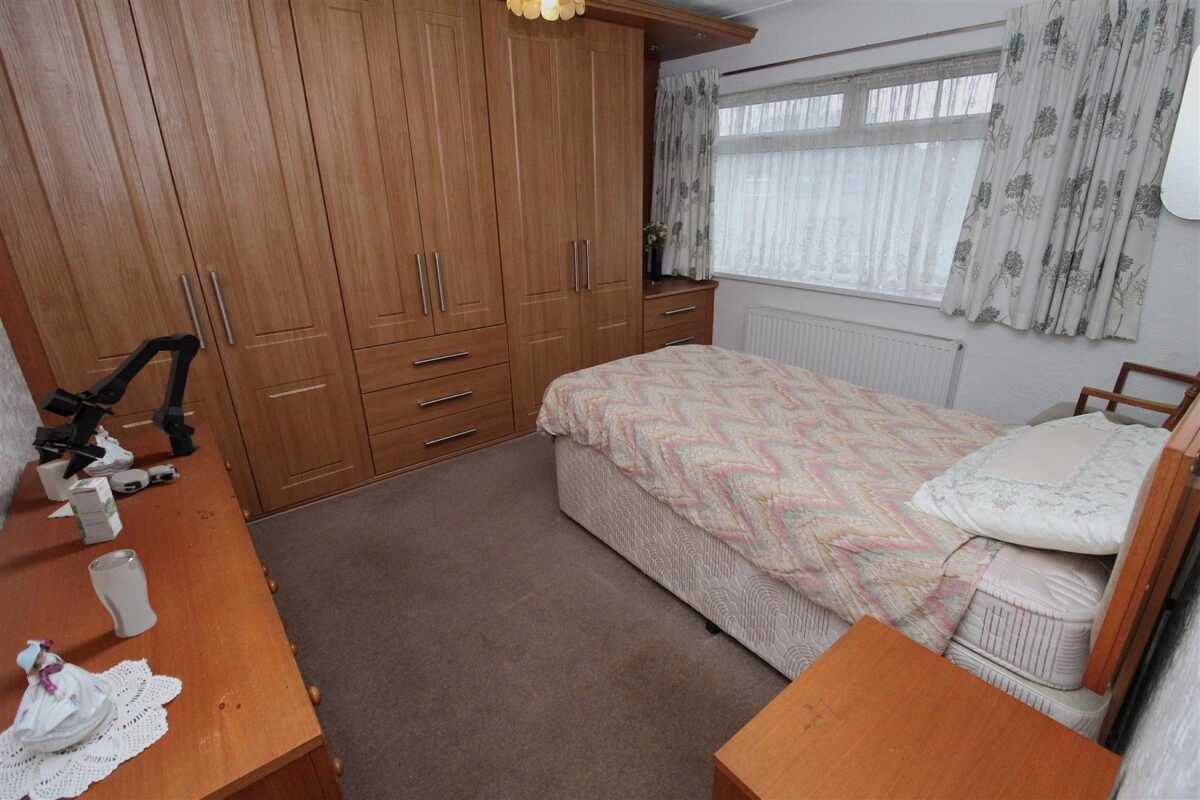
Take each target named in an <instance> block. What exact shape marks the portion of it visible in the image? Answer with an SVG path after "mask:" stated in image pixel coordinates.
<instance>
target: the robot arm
mask: <svg viewBox="0 0 1200 800" xmlns="http://www.w3.org/2000/svg"><path fill="white" fill-rule="evenodd" d="M200 347H201V341H200V339H199V338H198V337H197V336H196V335H194V334H190V333H185V332H176V333H174V334H172V335H166V336H165V335H164V336H160V337H159V336H158V337H157V336H156V337H147V338H144V339H143V340H142V342H141V343H140V345H139V346H138V347H136V349H135V350H133V352H132V353H131V354H130V355H129V356H127V357H126V359H124V360H123V362H122V363H121V364H120V365H119V366H117V368H116V369H115V370H114V371H113V372H111V373H109V374H108V375H106V376H105V377H102V378H100V379H99V380H97V381H96V382H95V383H93V384H92V385H90V386H89V387H88V388H87V389H86V390H83V391H80V392H77V393H72V392H68V391H66V390H65V389H63V388H60V387H58V386H55V387H54V388H53V390H50V391H49V392H48V393H46V394H45V395H44V396H42V398H41V399H40V400H39V402H38V405H37V406H38V409H39V410H41V411H45V412H48V413H49V414H53V415H55V416H60V417H61V418H67V417H69V416H70V417H72V418H71V420H70V421H69V423H68V422H65V423H63V424H56V426H36V432H35V435H34V437H35V439H34V440H33V442H32V444H31V446H33V447H34V450H36V451H37V453H38V454H39V461H38V466H40V465H42V464H45V463H48V462H50V461H53V460H56V459H63V457H64V456H65V455H64V453H65V452H67V451H68V453H69V456H70V459H69V460H70V462H69V464H68V466H67V468H66V470H65V473H64V475H63V479H66V480H67V479H69V478H70V477H72V476H73V475H75V474H76V475H77V473H79V472H80V471H82V470H83V469H85V468H87V467H88V466H90V465H91V464H93V463H94V462H98V461H99V459H104V458H105V456H106V454H107V451H106V448H105V447H102V446H100V445H98V444H97V445H96V444H94V443H91V442H90V440H91V438H92V437H93V436H98V434H99V431H97V428H98V426H99V425H100V423H101V422H102V420H103V418H104V417H105V416H107V417H114V416H115V415H116V413H115V411H114V410H113V408H112V407H111V406H113V405H115V404H117V403H119V402H120V401H121V399H122V398H123V397H124V395H125V393H126V392H127V389H128V387H129V385H130V383H131V381H132V380H133V379H134V378H135V377H136V376H137V375H138V374H139V373H140V372H141V371H142V369H143V368H144V367H146V365H147V364H148V363H149V362H150V361H151V360H152V359H153V358H154V357H155V356H156V355H157V354H158V353H159V352H169V353H170V357H171V364H170V369H169V373H168V379H167V383H166V389H165V392H164V393H165V394H164V399H163V403H162V405H161V406H160V407H159V408H153V411H152V412H153V415H152V418H151V420H150V422H152V425H153V427H154V429H156V431H159V432H162V433H163V434H164V435H166V436H168V440H169V444H170V448H171V450H172V452H170V453H169V454H168V457H169V456H171V457H177V456H176V455H183V456H190V454H191V455H192V453H193V452H194V453H195V452H196V451H197V450H199V449H200V448H201V445H195V443H194V441H193V440H194V439H193V436H194V435H195V431H196V428H195V427H193V426H190V425H188V424H185V414H184V409H183V401H184V396H185V392H186V386H187V381H188V377H189V372H190V366H191V363H192V361H193V360H194V359H195V358H196V356H197V355H198V352H199V350H200ZM87 403H88V404H87ZM99 404H101V405H104V406H101V405H99ZM105 406H106V407H105ZM194 453H193V454H194ZM174 455H175V456H174ZM36 475H37V476H39V474H38V471H37V473H36Z"/></svg>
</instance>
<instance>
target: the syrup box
mask: <svg viewBox="0 0 1200 800" xmlns="http://www.w3.org/2000/svg"><path fill="white" fill-rule="evenodd" d="M107 478H108V477H106V476H105V477H104V476H102V477H90V478H83V479H80V480H79V479H78V480H79V481H77V482H76V483H75V484H74V485H73V486H72V487H70V488H69V489H68V490H67V491H66V495H67V497H68V500H67V501H68V502H69V503H70V506H71V508H72V511H73V514H74V516H73V517H74V519H75V522H76V525H77V528H78V531H79V534H80V535H81V536H80V537H81V539H82V542H83V544H84V545H86V546H87V545H93V544H99V543H103V542H108V541H113V540H115V539H116V537H118V534H119V533H120V532H121V531H122V530H123V528H124V526H123V523H122V520H121V518H120V514H119V511H118V508H117V505H116V504H117V503H116V502H115V499H114V496H113V494H112V493H113V492H112V490H111V489H112V488H111V487H110V482H109V481H108V479H107Z"/></svg>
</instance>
